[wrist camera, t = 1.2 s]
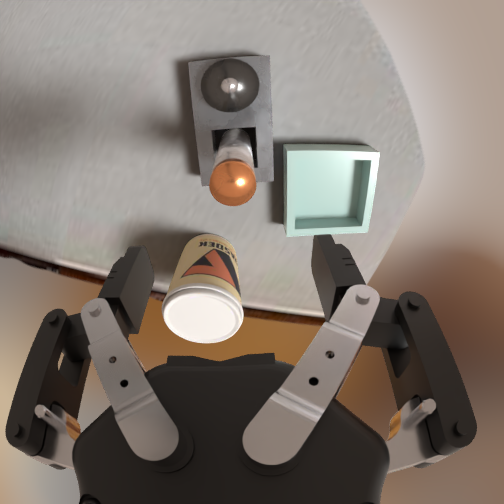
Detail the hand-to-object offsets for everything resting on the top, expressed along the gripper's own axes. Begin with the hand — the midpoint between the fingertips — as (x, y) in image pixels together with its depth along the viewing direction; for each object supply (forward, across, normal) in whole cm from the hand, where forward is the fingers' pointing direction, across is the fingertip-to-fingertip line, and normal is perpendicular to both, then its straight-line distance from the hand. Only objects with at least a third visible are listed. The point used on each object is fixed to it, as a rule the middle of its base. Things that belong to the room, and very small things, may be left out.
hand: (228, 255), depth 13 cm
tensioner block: (+22, 0, -3) cm, 22 cm away
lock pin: (+22, 0, 0) cm, 22 cm away
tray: (+22, -11, +6) cm, 25 cm away
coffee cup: (+22, +5, +16) cm, 28 cm away
